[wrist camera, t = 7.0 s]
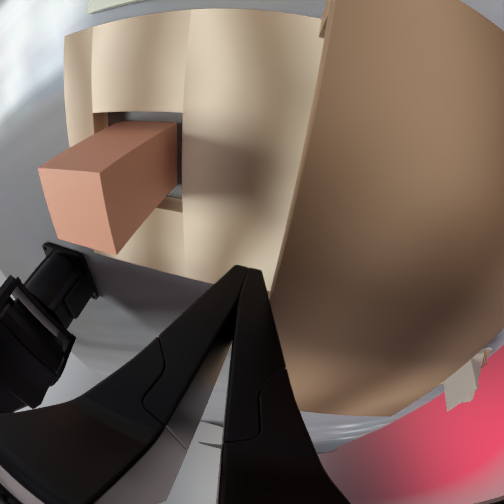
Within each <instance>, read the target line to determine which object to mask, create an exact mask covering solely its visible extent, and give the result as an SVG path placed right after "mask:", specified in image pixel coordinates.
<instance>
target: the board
mask: <svg viewBox="0 0 504 504" xmlns="http://www.w3.org/2000/svg"><path fill="white" fill-rule="evenodd" d="M321 20H322V19H319V18H314V17H309V16H303V15H297V14H290V13H283V12H274V11H264V10H251V9H194V10H180V11H170V12H162V13H155V14H148V15H142V16H137V17H131V18H127V19H122V20H118V21H113V22H109V23H105V24H102V25H98V26H95V27H91V28H88V29H85V30H81V31H78V32H75V33H73V34H70V35H67V36H65V41H64V94H65V109H66V120H67V130H68V138H69V145H70V147H72V146H74V145H75V144H77V143H79V142H81V141H82V140H84V139H86V138H88V137H90V136H92V135H94V134H95V133H97V132H99V131H101V130H103V129H105V128H107V127H109V123H108V112H123V111H156V112H181V113H183V126H182V199H180V198H174V197H168V196H166V197H165V198H164V199H163V200H162V202H161V203H160V204H159V205H158V206H157V207H156V208H155V209H154V211H153V212H152V213H151V214H150V215H149V216H148V218H147V219H146V220H145V221H144V222H143V224H142V225H141V226H140V227H139V228H138V230H137V231H136V232H135V233H134V234H133V236H132V237H131V238H130V239H129V241H128V242H127V243H126V244H125V246H124V247H123V248H122V250H121V251H120V252H119V253H118V255H113V254H109V253H106V252H102V251H99V250H95V249H93V250H94V253H97V254H101V255H104V256H108V257H111V258H115V259H118V260H122V261H125V262H129V263H133V264H136V265H140V266H144V267H148V268H151V269H155V270H159V271H163V272H167V273H171V274H175V275H179V276H183V277H187V278H191V279H195V280H199V281H203V282H207V283H211V284H215V283H216V282H217V281H218V280H219V279H220V278H221V277H222V276H223V275H224V274H226V273H227V272H228V271H229V270H230V269H231V268H232V267H233V266H234V265H241V266H246V267H248V268H255V269H260V270H261V271H262V273H263V277H264V281H265V285H266V289H267V291H270V290H271V286H272V282H273V278H274V274H275V270H276V266H277V261H278V257H279V253H280V249H281V245H282V241H283V236H284V232H285V228H286V224H287V219H288V215H289V211H290V206H291V202H292V197H293V193H294V188H295V184H296V179H297V175H298V170H299V166H300V161H301V156H302V152H303V147H304V142H305V137H306V132H307V127H308V122H309V117H310V112H311V107H312V102H313V97H314V92H315V87H316V81H317V76H318V70H319V65H320V59H321V54H322V48H323V42H324V38H320V37H319V32H320V26H321Z"/></svg>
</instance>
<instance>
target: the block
mask: <svg viewBox="0 0 504 504" xmlns="http://www.w3.org/2000/svg"><path fill="white" fill-rule="evenodd" d="M38 171H39V175H40V179H41V183H42V187H43V191H44V195H45V198H46V202H47V205H48V209H49V212H50V215H51V218H52V221H53V225H54V227H55V230H56V233H57V236H58V239H61V240H65V241H68V242H71V243H75V244H78V245H81V246H85V247H88V248H92V249H95V250H99V251H102V252H106V253H109V254H113V255H118V253H119V252H120V251H121V250H122V248H123V247H124V246H125V244H126V243H127V242H128V241H129V239H130V238H131V237H132V236H133V234H134V233H135V232H136V231H137V230H138V228H139V227H140V226H141V225H142V224H143V222H144V221H145V220H146V219H147V218H148V216H149V215H150V214H151V213H152V212H153V211H154V209H155V208H156V207H157V206H158V205H159V204H160V203H161V202H162V200H163V199H164V198H165V197H166V196H167V195H168V194H169V193H170V192H171V190H172V189H173V188H174V187H175V186H176V185H177V123H173V122H152V121H120V122H118V123H116V124H113V125H111V126H109V127H107V128H105V129H103V130H101V131H99V132H97V133H95V134H94V135H92V136H90V137H88V138H86V139H84V140H82V141H81V142H79V143H77V144H75V145H74V146H72V147H70V148H68V149H67V150H65V151H63V152H62V153H60V154H59V155H57V156H55V157H54V158H52V159H51V160H49V161H48V162H46V163H45V164H43V165H42V166H40V167H39V168H38Z"/></svg>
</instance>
